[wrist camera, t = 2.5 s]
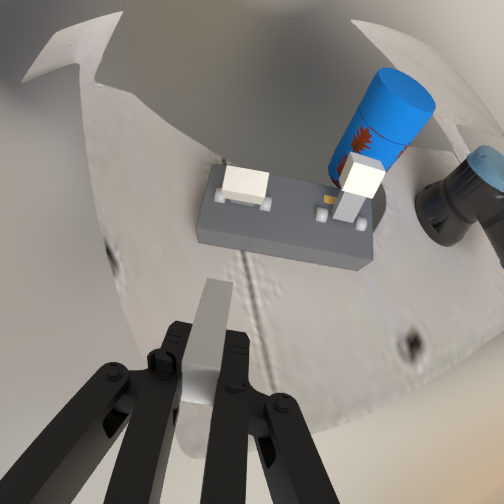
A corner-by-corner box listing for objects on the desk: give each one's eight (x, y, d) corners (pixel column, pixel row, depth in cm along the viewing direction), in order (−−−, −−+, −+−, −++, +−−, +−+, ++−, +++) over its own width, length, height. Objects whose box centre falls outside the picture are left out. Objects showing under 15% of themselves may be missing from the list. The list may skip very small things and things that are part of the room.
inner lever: (354, 214, 45) (380, 160, 37) (357, 226, 43) (385, 171, 35) (326, 207, 45) (350, 151, 37) (328, 219, 43) (354, 162, 35)
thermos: (317, 165, 55) (364, 69, 32) (349, 149, 58) (397, 64, 35) (352, 205, 53) (420, 119, 30) (381, 184, 56) (445, 107, 33)
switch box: (357, 212, 53) (373, 193, 46) (357, 271, 48) (376, 257, 42) (213, 183, 51) (213, 159, 44) (198, 242, 47) (195, 223, 40)
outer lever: (261, 192, 43) (269, 172, 32) (257, 211, 43) (264, 197, 32) (228, 186, 43) (226, 165, 32) (225, 205, 43) (221, 189, 32)
